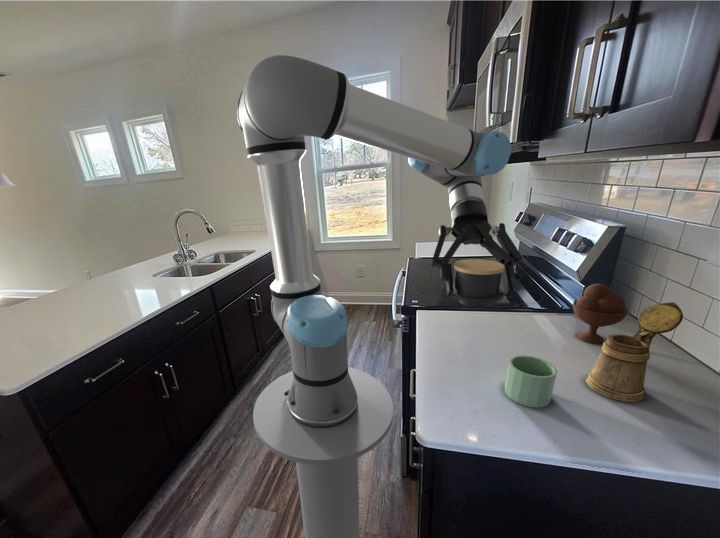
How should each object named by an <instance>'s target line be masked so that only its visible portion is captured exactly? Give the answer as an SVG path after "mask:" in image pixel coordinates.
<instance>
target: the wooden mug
mask: <svg viewBox="0 0 720 538" xmlns="http://www.w3.org/2000/svg"><path fill="white" fill-rule="evenodd" d="M683 319H684V313H683V310H682V309H681V307H679V305H678V304H677V303H675V301H674V302H673V301H672V302H661V303H656V304H652V305H650V306H647V307H646V308H644V309H643V310H642V311H641V313H640V314H639V316H638V317H637V325H638V328H639V329H638V331H637V332H636V333H634V335H632V336H631V335H626V334H621V333H613V334H610V335H608V337H607V339H605V340H604V341H603V343H602V346H601V352H600V354H599V355H598V358H597V359H596V362H595V364H594V366H593V368H592V370H590V371H589V373H588V376H587V378H586V379H585V383H586V385H588V386H589V388H590V389H592V390H593V391H595V392H596V393H598V394H600V395H602V396H604V397H606V398H610V399H613V400H615V401H621V402H627V403H636V402H639V401H641V400H643V399H644V396H645V391H646V388H645V379H646V371H647V365H648V361H649V360H650V358H651V351H650V347H651V344H652V342H653V339H654V338H655V337H656V336H657V335H659V334H660V335H661V334H665V333H669V332H672V331H673V330H675V329H676V328H677V327H679V325H680V324H681V323H682V321H683Z"/></svg>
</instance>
